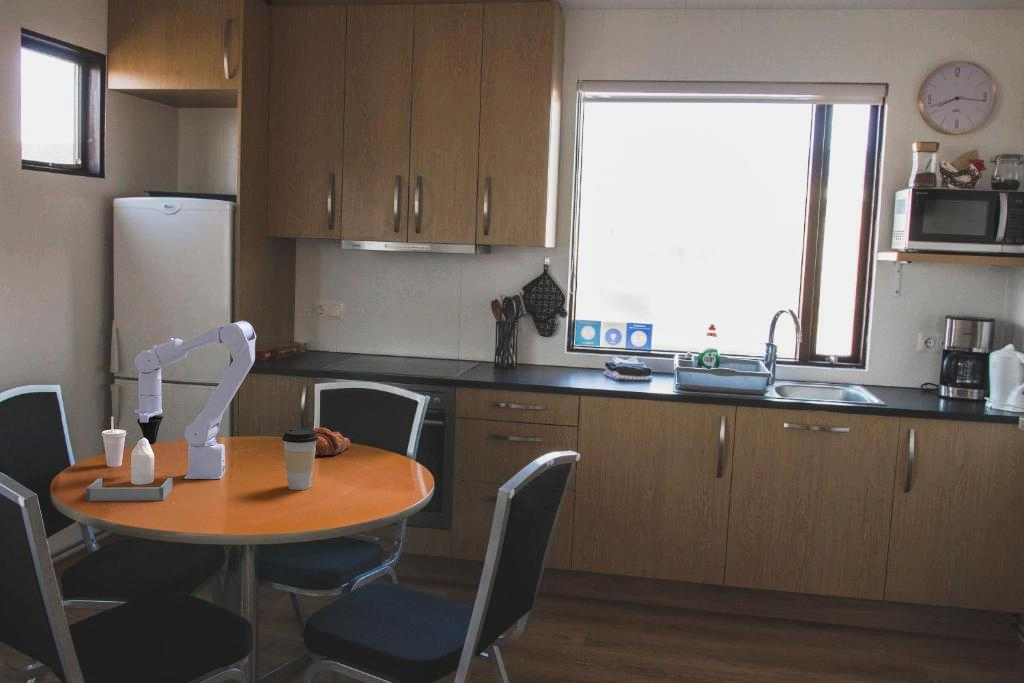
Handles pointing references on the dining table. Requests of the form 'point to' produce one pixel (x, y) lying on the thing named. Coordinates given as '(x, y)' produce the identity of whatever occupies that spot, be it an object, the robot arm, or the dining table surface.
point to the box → (127, 492)
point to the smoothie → (114, 445)
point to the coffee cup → (299, 457)
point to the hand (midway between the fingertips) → (150, 443)
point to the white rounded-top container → (142, 463)
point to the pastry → (330, 442)
